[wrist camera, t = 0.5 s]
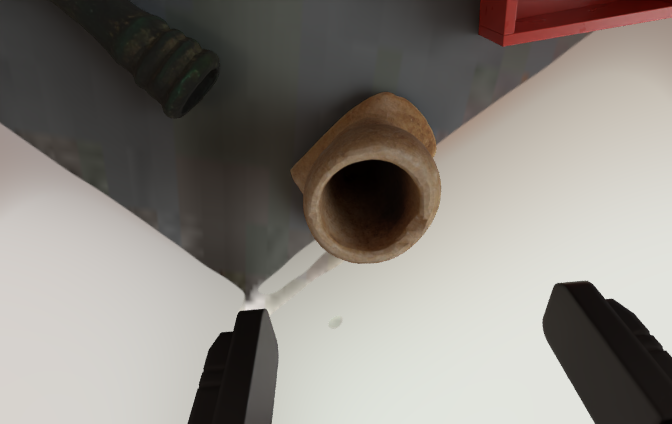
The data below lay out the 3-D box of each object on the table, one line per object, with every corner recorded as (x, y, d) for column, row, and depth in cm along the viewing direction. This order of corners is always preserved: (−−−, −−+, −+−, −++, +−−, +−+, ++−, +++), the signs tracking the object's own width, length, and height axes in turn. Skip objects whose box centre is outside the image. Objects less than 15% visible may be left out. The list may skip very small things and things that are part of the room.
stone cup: (374, 53, 33) (404, 111, 21) (447, 144, 38) (506, 233, 26) (260, 159, 38) (231, 254, 26) (337, 226, 44) (343, 332, 31)
